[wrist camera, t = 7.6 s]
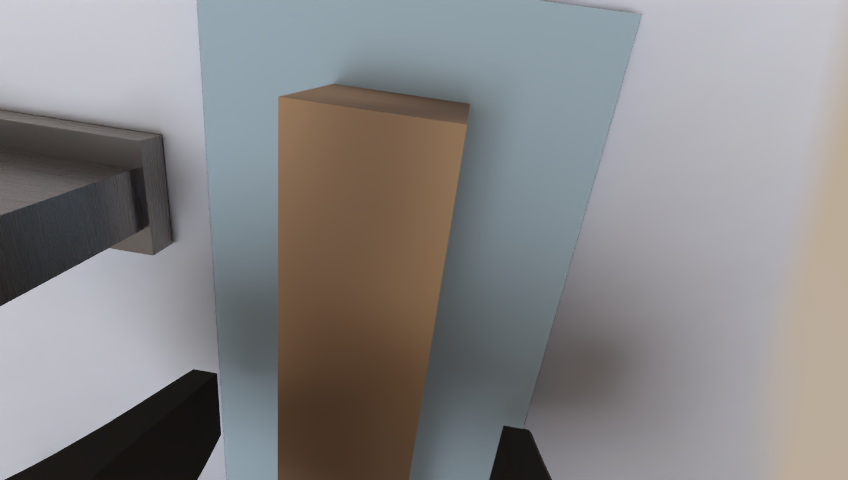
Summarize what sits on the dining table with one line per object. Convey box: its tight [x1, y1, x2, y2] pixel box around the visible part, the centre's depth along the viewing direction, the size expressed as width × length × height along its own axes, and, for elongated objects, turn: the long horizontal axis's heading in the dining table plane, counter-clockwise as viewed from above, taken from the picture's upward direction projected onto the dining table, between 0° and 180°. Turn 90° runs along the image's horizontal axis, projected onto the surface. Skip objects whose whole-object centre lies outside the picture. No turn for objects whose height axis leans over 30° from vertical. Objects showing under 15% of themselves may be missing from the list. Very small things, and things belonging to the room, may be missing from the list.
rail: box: [278, 84, 470, 480], centre depth 12 cm, size 3×16×3 cm, turn 173°
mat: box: [197, 0, 642, 480], centre depth 13 cm, size 9×20×1 cm, turn 173°
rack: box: [0, 110, 172, 306], centre depth 12 cm, size 6×16×5 cm, turn 173°
